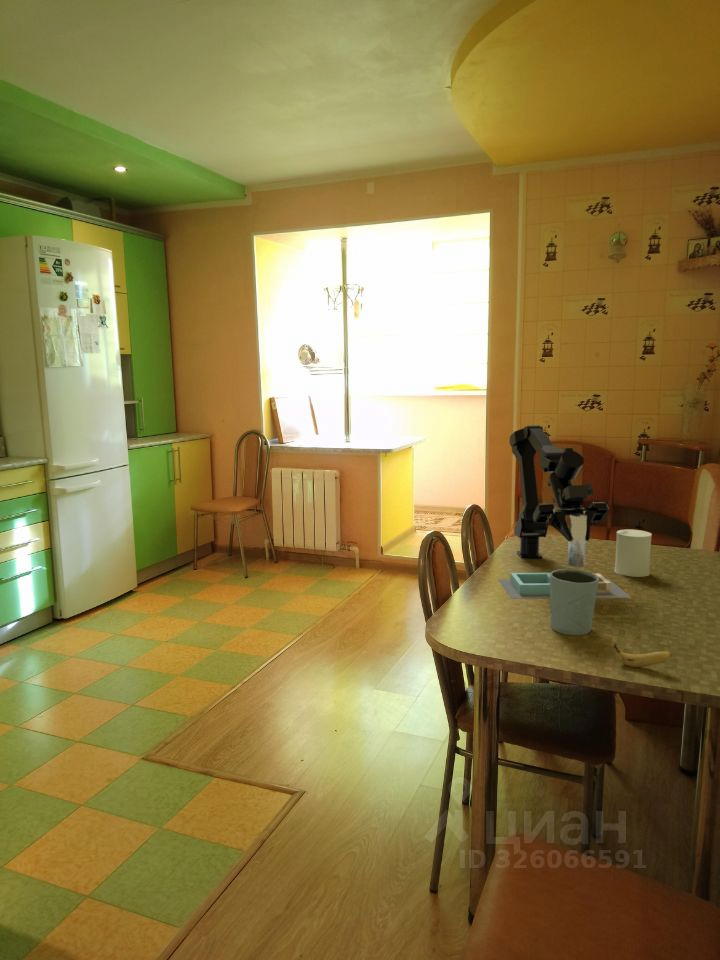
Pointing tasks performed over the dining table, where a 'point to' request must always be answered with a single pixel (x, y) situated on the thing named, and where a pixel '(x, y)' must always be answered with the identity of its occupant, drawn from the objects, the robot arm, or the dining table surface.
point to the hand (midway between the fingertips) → (579, 540)
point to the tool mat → (513, 593)
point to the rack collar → (531, 583)
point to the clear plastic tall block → (577, 540)
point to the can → (633, 553)
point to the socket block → (603, 584)
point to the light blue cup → (572, 601)
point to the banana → (642, 658)
